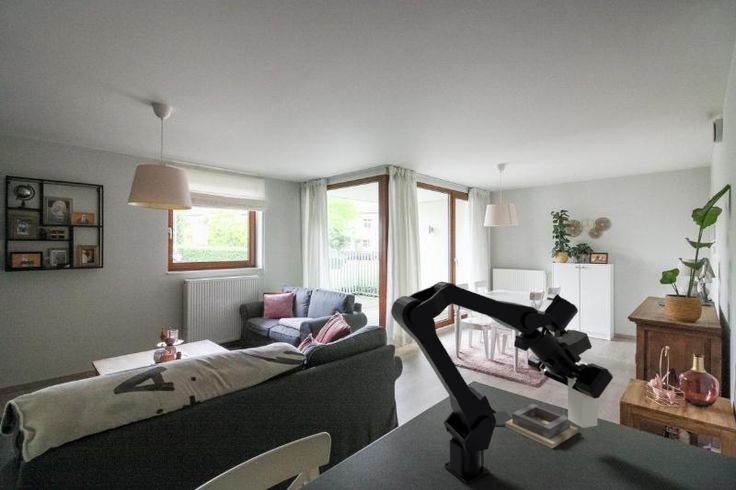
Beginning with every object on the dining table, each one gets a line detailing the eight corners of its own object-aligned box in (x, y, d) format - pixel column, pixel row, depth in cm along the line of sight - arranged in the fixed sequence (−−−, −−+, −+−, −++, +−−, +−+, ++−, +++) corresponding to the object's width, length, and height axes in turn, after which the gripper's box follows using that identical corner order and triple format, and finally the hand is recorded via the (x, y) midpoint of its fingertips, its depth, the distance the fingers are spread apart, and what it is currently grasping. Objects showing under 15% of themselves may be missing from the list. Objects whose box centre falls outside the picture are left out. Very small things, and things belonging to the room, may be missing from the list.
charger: (582, 427, 77) (582, 367, 77) (568, 419, 81) (567, 362, 81) (597, 425, 78) (597, 366, 78) (582, 417, 82) (581, 360, 82)
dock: (552, 448, 80) (552, 432, 80) (505, 426, 90) (505, 412, 90) (577, 432, 86) (577, 418, 86) (531, 413, 96) (531, 400, 96)
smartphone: (452, 411, 97) (507, 410, 97) (452, 414, 97) (507, 414, 97) (458, 424, 90) (517, 424, 90) (458, 428, 90) (518, 427, 90)
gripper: (605, 329, 70) (648, 379, 73) (537, 312, 88) (573, 353, 91) (572, 372, 68) (618, 423, 70) (510, 346, 86) (548, 387, 89)
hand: (587, 392), depth 80 cm, fingers closed on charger, 4 cm apart
